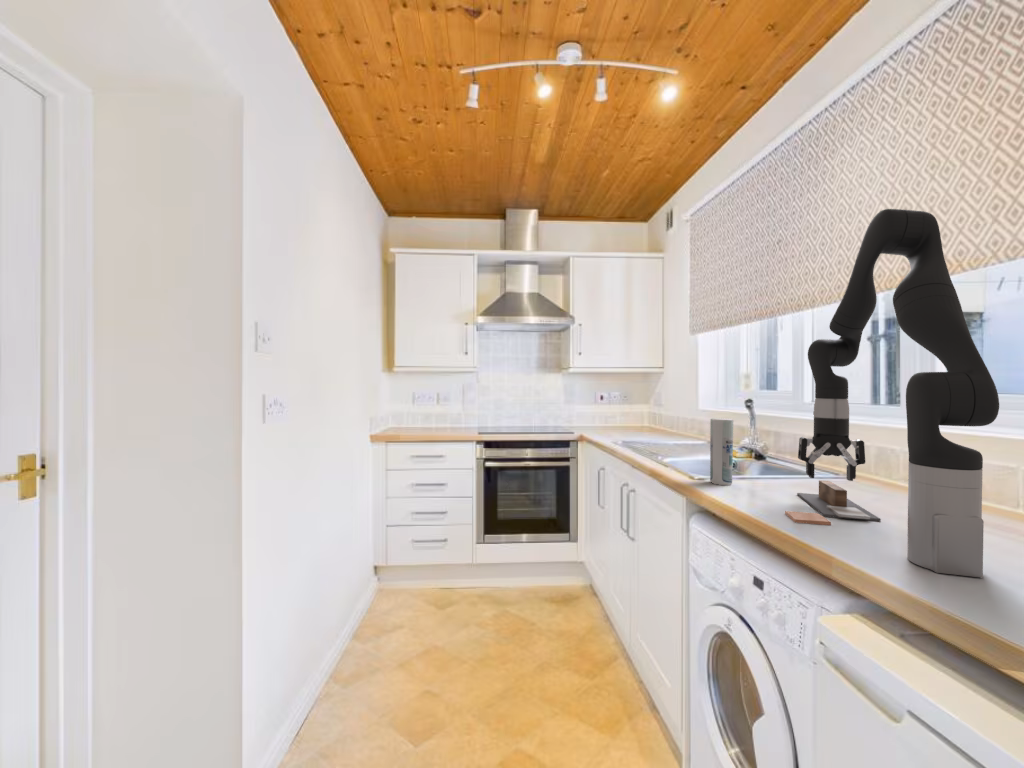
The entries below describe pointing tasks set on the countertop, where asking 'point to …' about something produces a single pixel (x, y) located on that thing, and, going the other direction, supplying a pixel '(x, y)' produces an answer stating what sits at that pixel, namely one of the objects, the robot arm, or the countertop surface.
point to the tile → (808, 518)
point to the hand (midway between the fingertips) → (830, 479)
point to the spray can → (721, 451)
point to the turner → (838, 501)
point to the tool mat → (822, 505)
